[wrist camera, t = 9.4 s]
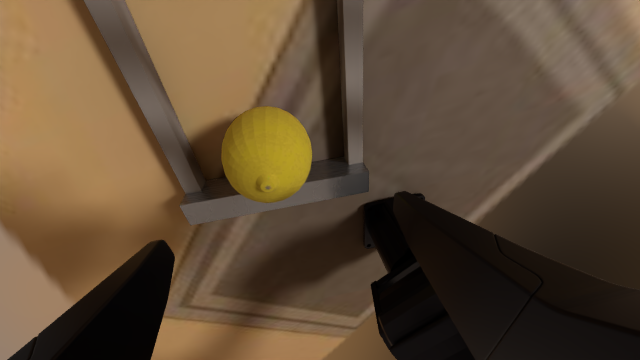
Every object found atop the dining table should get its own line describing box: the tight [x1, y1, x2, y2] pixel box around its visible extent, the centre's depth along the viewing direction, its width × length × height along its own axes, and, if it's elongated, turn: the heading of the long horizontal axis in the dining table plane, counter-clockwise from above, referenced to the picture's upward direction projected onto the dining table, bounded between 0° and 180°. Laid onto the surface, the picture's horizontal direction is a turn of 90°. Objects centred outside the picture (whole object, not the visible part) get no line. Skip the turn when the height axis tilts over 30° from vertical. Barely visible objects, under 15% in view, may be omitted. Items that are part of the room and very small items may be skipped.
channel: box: [84, 0, 369, 225], centre depth 14 cm, size 23×14×3 cm, turn 6°
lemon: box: [221, 106, 312, 203], centre depth 15 cm, size 6×6×8 cm
